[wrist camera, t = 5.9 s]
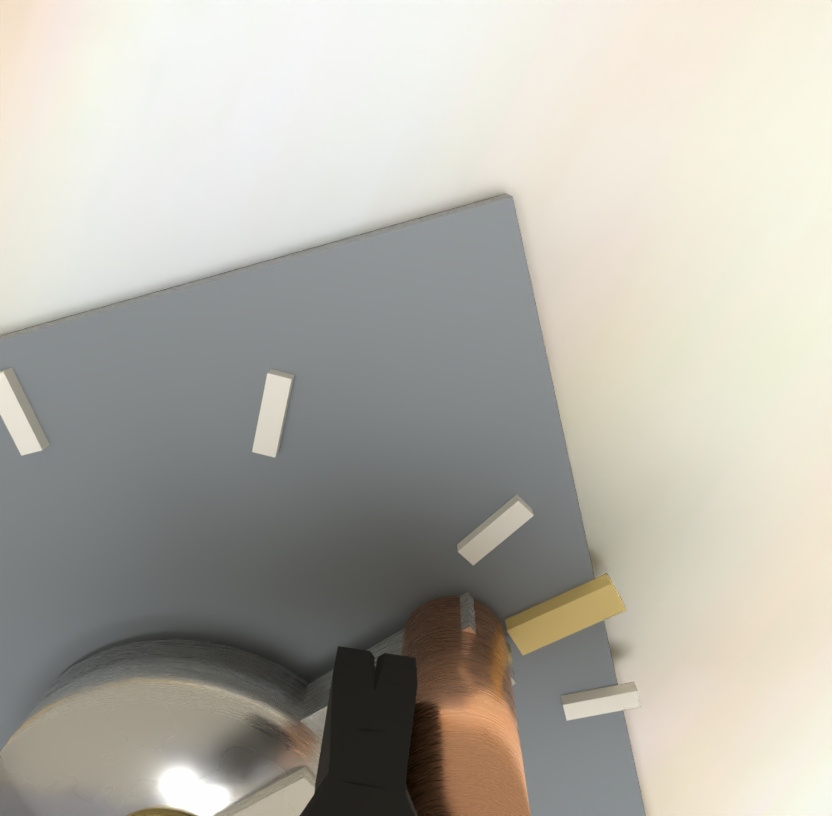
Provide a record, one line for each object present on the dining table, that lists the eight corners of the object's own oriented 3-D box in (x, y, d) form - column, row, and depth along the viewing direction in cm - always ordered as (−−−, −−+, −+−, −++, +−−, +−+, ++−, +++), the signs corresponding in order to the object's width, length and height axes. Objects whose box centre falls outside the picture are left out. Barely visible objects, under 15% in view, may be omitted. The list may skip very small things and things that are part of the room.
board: (103, 998, 23) (80, 1056, 22) (-283, 415, 16) (-357, 441, 15) (679, 911, 21) (698, 969, 19) (530, 187, 14) (541, 189, 12)
